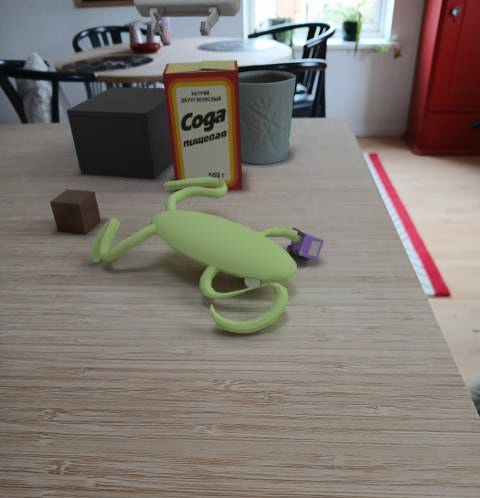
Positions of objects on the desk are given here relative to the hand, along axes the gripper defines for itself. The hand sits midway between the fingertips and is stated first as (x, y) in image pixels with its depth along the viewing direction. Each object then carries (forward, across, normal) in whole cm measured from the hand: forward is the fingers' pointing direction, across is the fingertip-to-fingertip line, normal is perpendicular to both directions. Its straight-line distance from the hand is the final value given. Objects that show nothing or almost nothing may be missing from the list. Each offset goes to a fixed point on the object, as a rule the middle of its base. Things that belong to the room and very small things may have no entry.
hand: (180, 33), depth 95 cm
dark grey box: (+28, 0, -7) cm, 29 cm away
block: (+45, +3, -24) cm, 51 cm away
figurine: (+49, +22, -27) cm, 60 cm away
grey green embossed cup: (+24, +20, -2) cm, 31 cm away
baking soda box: (+33, +15, -12) cm, 38 cm away
